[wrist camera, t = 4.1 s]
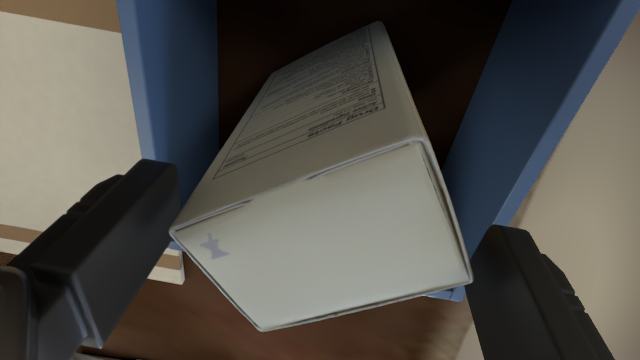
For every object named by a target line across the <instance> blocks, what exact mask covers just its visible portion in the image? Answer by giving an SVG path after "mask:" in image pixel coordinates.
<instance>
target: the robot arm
mask: <svg viewBox="0 0 640 360" xmlns="http://www.w3.org/2000/svg"><path fill="white" fill-rule="evenodd" d="M181 210H182V206H181V196H180V186H179V177H178V170H177V167H176V165H175V164H172V163H167V162H161V161H156V160H151V159H145V158H144V159H141V160H139V161H138V162H137V163H136V164H135V165H134V166H133V167H132V168H131V169H130V170H129V171H128V172H127V173H126V174H125V175H120V174H117V175H115V176H112V177H110V178H108V179H106V180H104V181H102V182H100V183H98V184H96V185H95V186H94V187H93V188H92V189H90V190H89V191H88V192H87V193H86V194H85V195H84V196H83V197H82V198H80V202H76V203H75V204H74V205H73V206H72V207H70V208H69V209H68V210H67V213H66V214H63V215H62V216H60V217H59V218H58V219H57V220H56V221H55V222H54V223H53V224H52V225H50V226H49V227H48V228H47V229H46V230H45V231H44V232H43V233H42V234H40V235H39V236H38V237H37V238H36V239H35V240H34V241H33V242H32V243H30V244H29V245H28V246H27V247H26V248H25V249H24V250H23V251H22V252H20V253H19V254H18V255H17V256H16V257H15V258H14V259H13V260H12V261H10V262H9V263H8V264H7V265H6V266H0V360H70V359H71V358H72V356H73V355H74V353H75V352H76V351H77V349H78V348H79V346H80V345H83V346H88V347H93V348H99V349H101V348H102V347H103V345H104V344H105V342H106V341H107V339H108V337H109V336H110V334H111V333H112V331H113V330H114V328H115V327H116V325H117V324H118V322H119V321H120V319H121V317H122V316H123V314H124V313H125V311H126V310H127V308H128V307H129V305H130V304H131V302H132V301H133V299H134V298H135V296H136V294H137V293H138V291H139V290H140V288H141V287H142V285H143V284H144V282H145V281H146V279H147V278H148V276H149V275H150V273H151V271H152V270H153V268H154V267H155V265H156V264H157V262H158V261H159V259H160V258H161V256H162V255H163V253H164V251H165V250H166V248H167V247H168V245H169V244H170V242H171V241H172V239H173V238H172V237H171V235H170V234H169V228H170V226H171V224H172V223H173V222H174V220H175V219H176V217H177V216H178V214H179V213H180V211H181ZM469 262H470V266H471V269H472V272H473V275H474V280H473V282H472V283H470V284H466V285H464V288H465V292H466V295H467V299H468V303H469V306H470V310H471V313H472V317H473V320H474V324H475V328H476V331H477V334H478V338H479V342H480V346H481V349H482V353H483V356H484V360H615V359H614V358H613V356H612V354H611V352H610V351H609V349H608V347H607V345H606V344H605V342H604V340H603V339H602V337H601V335H600V334H599V332H598V330H597V328H596V327H595V325H594V324H593V322H592V320H591V318H590V317H589V315H588V314H587V313H585V312H584V310H585V308H584V306H583V305H582V303H581V301H580V300H579V298H578V297H577V296H575V291H574V289H573V288H572V286H571V284H570V283H569V281H568V279H567V278H566V276H565V274H564V273H563V272H562V271H561V270H560V269H559V268H558V267H557V266H556V265H555V264H554V263H553V262H552V261H551V260H550V259H549V258H548V257H547V256H546V255H545V254H541V253H540V251H539V249H538V247H537V246H536V244H535V242H534V240H533V238H532V237H531V235H530V233H529V232H528V231H526V230H523V229H518V228H513V227H507V226H502V225H497V224H493V225H491V226H490V227H489V228H488V229H487V231H486V232H485V234H484V236H483V238H482V239H481V241H480V243H479V245H478V246H477V248H476V250H475V252H474V254H473V255H472V257H471V259H470V261H469Z"/></svg>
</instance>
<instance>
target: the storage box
mask: <svg viewBox="0 0 640 360" xmlns="http://www.w3.org/2000/svg"><path fill="white" fill-rule="evenodd" d="M116 4H117V11H118V17H119V23H120V29H121V35H122V41H123V47H124V53H125V59H126V65H127V71H128V77H129V83H130V90H131V96H132V102H133V108H134V114H135V120H136V126H137V132H138V138H139V144H140V150H141V156H142V159H144V158H145V159H151V160H156V161H161V162H167V163H172V164H175V165H176V167H177V170H178V177H179V186H180V196H181V206H182V208H183V207H184V205H185V204H186V202H187V200H188V199H189V197H190V196H191V194H192V193H193V191H194V190H195V188H196V187H197V185H198V184H199V182H200V181H201V179H202V178H203V176H204V175H205V173H206V171H207V170H208V168H209V167H210V166H211V164H212V162H213V161H214V160H215V158H216V156H217V155H218V153H219V101H218V42H217V0H116ZM639 9H640V0H512V2H511V4H510V7H509V9H508V11H507V14H506V16H505V19H504V21H503V23H502V26H501V28H500V31H499V33H498V36H497V38H496V40H495V43H494V45H493V48H492V50H491V52H490V55H489V57H488V60H487V62H486V64H485V67H484V69H483V72H482V74H481V77H480V79H479V81H478V84H477V86H476V89H475V91H474V93H473V96H472V98H471V101H470V103H469V105H468V108H467V110H466V113H465V115H464V118H463V120H462V122H461V125H460V127H459V130H458V132H457V134H456V137H455V139H454V142H453V144H452V146H451V149H450V151H449V154H448V156H447V159H446V161H445V163H444V166H443V168H442V171H441V173H442V176H443V179H444V182H445V185H446V188H447V191H448V193H449V196H450V199H451V202H452V205H453V208H454V211H455V215H456V218H457V221H458V224H459V227H460V231H461V234H462V237H463V241H464V244H465V248H466V251H467V255H468V259H469V261H470V259H471V257H472V255H473V254H474V252H475V250H476V248H477V246H478V245H479V243H480V241H481V239H482V238H483V236H484V234H485V232H486V231H487V229H488V228H489V227H490V226H491V225H493V224H497V225H502V226H508V225H509V223H510V221H511V220H512V218H513V216H514V215H515V213H516V211H517V210H518V208H519V206H520V205H521V203H522V202H523V200H524V198H525V197H526V195H527V193H528V192H529V190H530V188H531V187H532V185H533V183H534V182H535V180H536V179H537V177H538V175H539V174H540V172H541V170H542V169H543V167H544V165H545V164H546V162H547V160H548V159H549V157H550V156H551V154H552V152H553V151H554V149H555V147H556V146H557V144H558V142H559V141H560V139H561V137H562V136H563V134H564V133H565V131H566V129H567V128H568V126H569V124H570V123H571V121H572V119H573V118H574V116H575V115H576V113H577V111H578V110H579V108H580V106H581V105H582V103H583V101H584V100H585V98H586V96H587V95H588V93H589V92H590V90H591V88H592V87H593V85H594V83H595V82H596V80H597V78H598V77H599V75H600V73H601V72H602V70H603V68H604V67H605V65H606V63H607V62H608V60H609V59H610V57H611V55H612V54H613V52H614V50H615V49H616V47H617V45H618V44H619V42H620V41H621V39H622V37H623V36H624V34H625V32H626V31H627V29H628V27H629V26H630V24H631V22H632V21H633V19H634V17H635V16H636V14H637V13H638V11H639ZM167 248H169V249H173V250H178V251H184V252H186V251H185V250H184V249H183V248H182V247H181V246H179V245H178V244H177V243H176V241H175V240H174V239H172V241H171V242H170V244H169V245H168V247H167ZM465 295H466V292H465V288H464V285H462V286H458V287H454V288H450V289H446V290H441V291H438V292H434V293H431V294H426V295H424V296H430V297H435V298H441V299H446V300H448V299H449V300H452V301H458V302H462V300H463V298H464V297H465Z"/></svg>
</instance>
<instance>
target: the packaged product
mask: <svg viewBox="0 0 640 360" xmlns="http://www.w3.org/2000/svg"><path fill="white" fill-rule="evenodd" d="M70 360H120V359H114V358H107V357H101V356H94V355H88V354H81V353H74V355H73V356H72V358H71V359H70ZM138 360H141V359H138Z"/></svg>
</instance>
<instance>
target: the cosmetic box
mask: <svg viewBox="0 0 640 360" xmlns="http://www.w3.org/2000/svg"><path fill="white" fill-rule="evenodd" d="M169 234H170V235H171V237H172V238H173V239H174V240H175V241H176V243H177V244H178V245H179V246H181V247H182V248H183V249H184V250H185V251H186V253H187V254H188V255H189V256H190V258H191V259H192V260H193V261H194V262H195V263H196V264H197V265H198V267H199V268H200V269H201V270H202V271H203V272H204V273H205V274H206V275H207V277H208V278H209V279H210V280H211V281H212V282H213V283H214V284H215V285H216V286H217V287H218V289H219V290H220V291H221V292H222V293H223V294H224V295H225V296H226V297H227V298H228V299H229V301H230V302H231V303H232V304H233V305H234V306H235V307H236V308H237V309H238V310H239V311H240V312H241V313H242V314H243V315H244V316H245V317H246V318H247V319H248V320H249V321H250V322H251V323H252V324H253V325H254V326H255V328H256V329H258V330H259V331H261V332H266V331H271V330H275V329H281V328H285V327H291V326H295V325H301V324H304V323H310V322H314V321H320V320H323V319H327V318H332V317H337V316H340V315H344V314H349V313H354V312H358V311H362V310H365V309H370V308H374V307H378V306H382V305H387V304H392V303H395V302H398V301H403V300H407V299H411V298H415V297H419V296H422V295H426V294H431V293H434V292H438V291H441V290H446V289H450V288H454V287H458V286H462V285H466V284H470V283H472V282H473V280H474V275H473V272H472V269H471V266H470V262H469V259H468V255H467V251H466V248H465V244H464V241H463V237H462V234H461V231H460V227H459V224H458V221H457V218H456V215H455V211H454V208H453V205H452V202H451V199H450V196H449V193H448V191H447V188H446V185H445V182H444V179H443V176H442V173H441V171H440V168H439V165H438V162H437V159H436V157H435V154H434V151H433V148H432V146H431V143H430V140H429V138H428V136H427V133H426V131H425V128H424V126H423V124H422V121H421V119H420V116H419V114H418V111H417V109H416V106H415V104H414V101H413V98H412V96H411V93H410V91H409V88H408V86H407V83H406V81H405V78H404V75H403V73H402V70H401V67H400V65H399V62H398V59H397V57H396V54H395V51H394V49H393V46H392V43H391V41H390V38H389V36H388V34H387V31H386V29H385V26H384V24H383V23H382V22H381V21H376V22H374V23H371V24H369V25H367V26H365V27H362V28H360V29H358V30H356V31H354V32H352V33H350V34H347V35H345V36H343V37H341V38H339V39H337V40H335V41H333V42H331V43H329V44H327V45H325V46H323V47H321V48H319V49H317V50H315V51H313V52H311V53H309V54H307V55H305V56H303V57H301V58H299V59H297V60H295V61H294V62H292V63H290V64H288V65H286V66H284V67H283V68H281V69H279V70H277V71H275V72H273V73H272V74H271V75H270V76H269V78H268V79H267V81H266V82H265V84H264V85H263V87H262V88H261V90H260V91H259V93H258V95H257V96H256V98H255V99H254V101H253V102H252V104H251V105H250V107H249V108H248V109H247V111H246V113H245V114H244V116H243V117H242V119H241V120H240V122H239V123H238V125H237V126H236V128H235V129H234V131H233V132H232V134H231V135H230V137H229V138H228V140H227V141H226V143H225V144H224V146H223V147H222V149H221V150H220V152H219V153H218V155H217V156H216V158H215V160H214V161H213V162H212V164H211V166H210V167H209V168H208V170H207V171H206V173H205V175H204V176H203V178H202V179H201V181H200V182H199V184H198V185H197V187H196V188H195V190H194V191H193V193H192V194H191V196H190V197H189V199H188V200H187V202H186V204H185V205H184V207H183V208H182V210H181V211H180V213H179V214H178V216H177V217H176V219H175V220H174V222H173V223H172V224H171V226H170V228H169Z"/></svg>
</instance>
